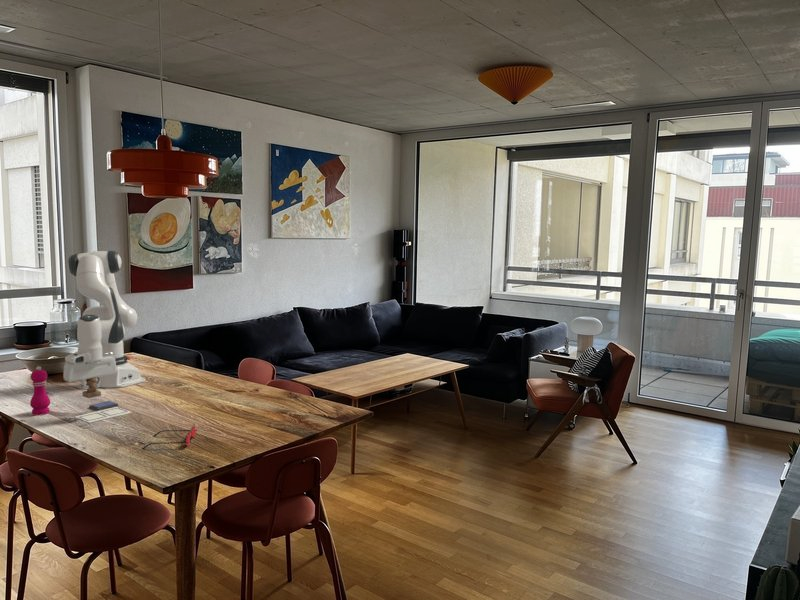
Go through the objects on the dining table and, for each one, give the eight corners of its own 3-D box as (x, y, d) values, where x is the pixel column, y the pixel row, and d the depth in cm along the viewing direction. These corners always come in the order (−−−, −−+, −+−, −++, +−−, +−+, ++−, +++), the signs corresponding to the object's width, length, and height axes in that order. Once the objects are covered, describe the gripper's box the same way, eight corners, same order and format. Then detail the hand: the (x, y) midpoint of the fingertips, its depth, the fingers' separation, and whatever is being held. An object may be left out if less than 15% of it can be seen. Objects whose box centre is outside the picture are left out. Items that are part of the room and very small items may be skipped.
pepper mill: (30, 416, 247) (27, 368, 245) (31, 411, 254) (29, 365, 252) (50, 414, 251) (48, 367, 248) (51, 409, 257) (49, 363, 255)
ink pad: (109, 403, 269) (109, 400, 268) (118, 406, 264) (118, 403, 264) (89, 407, 261) (89, 404, 261) (97, 410, 257) (97, 407, 257)
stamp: (94, 393, 250) (94, 373, 249) (101, 395, 247) (100, 375, 246) (82, 396, 246) (81, 375, 245) (88, 398, 243) (88, 377, 242)
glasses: (188, 449, 216) (188, 436, 215) (141, 450, 214) (140, 437, 214) (197, 436, 230) (197, 423, 229) (152, 437, 228) (152, 424, 228)
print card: (116, 407, 262) (116, 406, 262) (131, 412, 255) (131, 411, 255) (74, 417, 248) (74, 416, 248) (89, 423, 241) (89, 422, 241)
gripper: (111, 350, 255) (112, 382, 257) (60, 358, 239) (62, 392, 240) (119, 352, 251) (120, 384, 253) (68, 360, 235) (69, 394, 237)
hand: (91, 388), depth 246 cm, fingers closed on stamp, 3 cm apart
